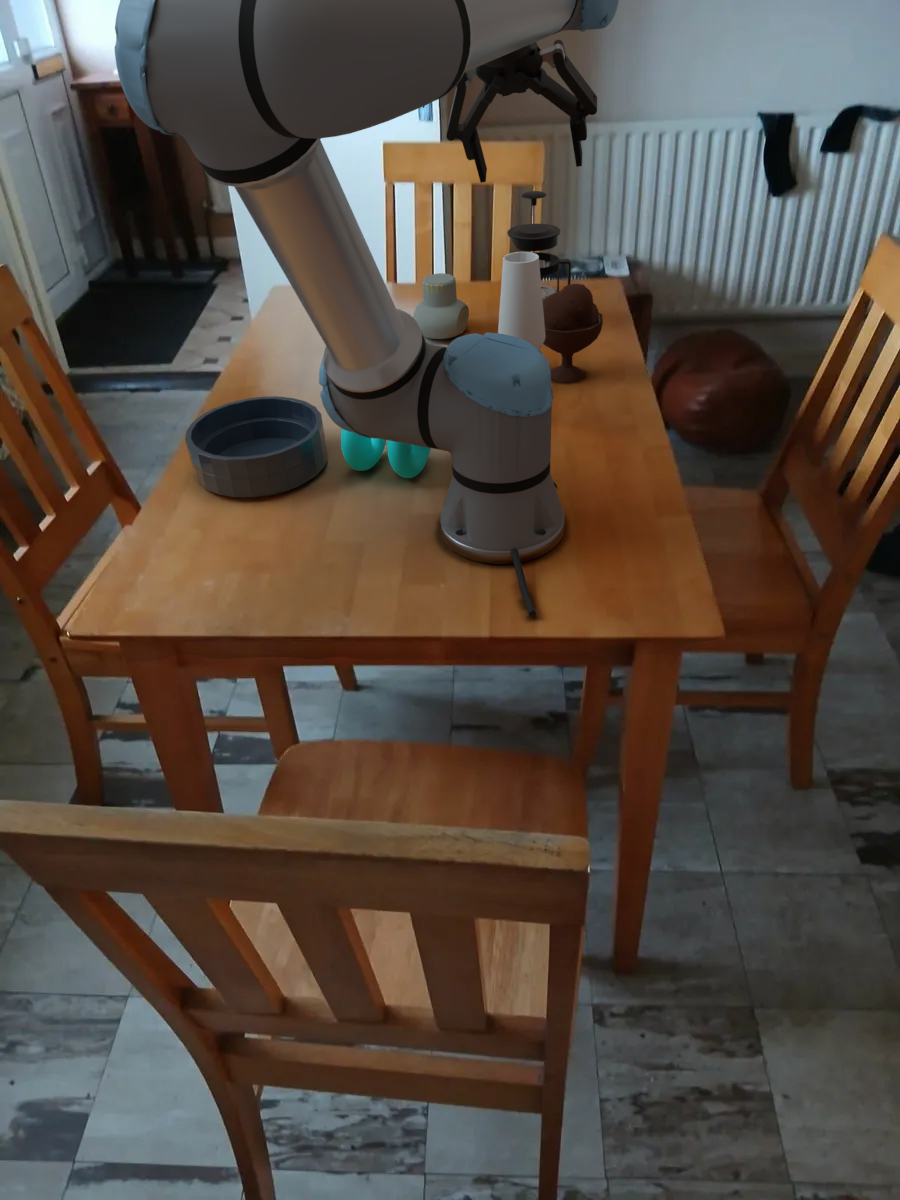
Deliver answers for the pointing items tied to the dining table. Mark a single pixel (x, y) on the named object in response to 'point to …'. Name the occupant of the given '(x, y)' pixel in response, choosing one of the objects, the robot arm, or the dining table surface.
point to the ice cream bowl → (570, 327)
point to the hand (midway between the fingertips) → (530, 168)
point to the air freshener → (441, 308)
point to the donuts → (369, 450)
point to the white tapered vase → (522, 298)
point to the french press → (539, 243)
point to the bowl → (257, 446)
